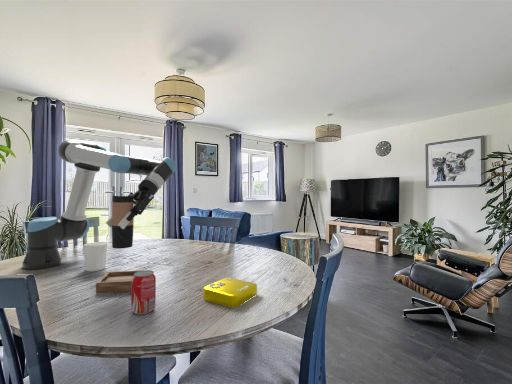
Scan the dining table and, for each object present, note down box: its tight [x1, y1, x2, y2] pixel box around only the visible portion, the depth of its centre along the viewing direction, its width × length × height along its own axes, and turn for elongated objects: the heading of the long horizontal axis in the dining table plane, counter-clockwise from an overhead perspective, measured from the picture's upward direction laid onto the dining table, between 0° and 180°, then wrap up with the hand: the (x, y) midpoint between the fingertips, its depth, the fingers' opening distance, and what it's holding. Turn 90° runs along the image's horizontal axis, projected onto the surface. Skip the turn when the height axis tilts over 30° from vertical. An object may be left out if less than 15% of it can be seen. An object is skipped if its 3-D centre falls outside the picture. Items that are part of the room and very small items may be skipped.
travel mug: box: [111, 195, 135, 250], centre depth 106 cm, size 8×8×20 cm
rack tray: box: [95, 269, 144, 295], centre depth 106 cm, size 14×14×4 cm
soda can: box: [130, 269, 157, 315], centre depth 85 cm, size 7×7×12 cm
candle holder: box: [83, 241, 108, 272], centre depth 129 cm, size 10×10×12 cm
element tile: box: [202, 277, 258, 308], centre depth 98 cm, size 15×15×5 cm
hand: (114, 225), depth 103 cm, fingers closed on travel mug, 7 cm apart
